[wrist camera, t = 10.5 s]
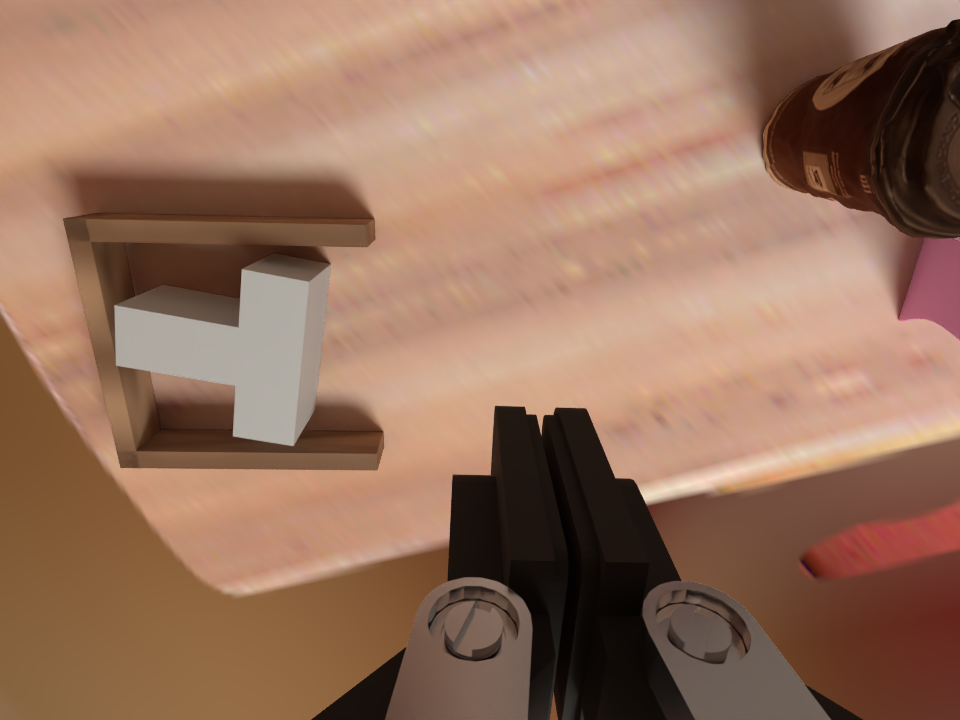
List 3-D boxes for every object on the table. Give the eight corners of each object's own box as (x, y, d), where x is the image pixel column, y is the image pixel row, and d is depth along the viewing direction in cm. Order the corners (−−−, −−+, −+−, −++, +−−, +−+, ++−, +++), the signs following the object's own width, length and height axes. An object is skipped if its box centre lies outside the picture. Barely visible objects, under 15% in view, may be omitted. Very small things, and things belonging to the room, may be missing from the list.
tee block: (162, 231, 33) (112, 244, 29) (330, 264, 34) (309, 281, 30) (162, 383, 37) (117, 417, 32) (315, 409, 38) (293, 446, 33)
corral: (97, 213, 33) (63, 218, 30) (374, 218, 33) (365, 225, 30) (146, 444, 38) (120, 467, 35) (383, 447, 39) (377, 470, 36)
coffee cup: (737, 70, 31) (913, 15, 19) (891, 30, 30) (1174, -53, 18) (749, 226, 34) (907, 267, 22) (888, 192, 33) (1131, 215, 21)
